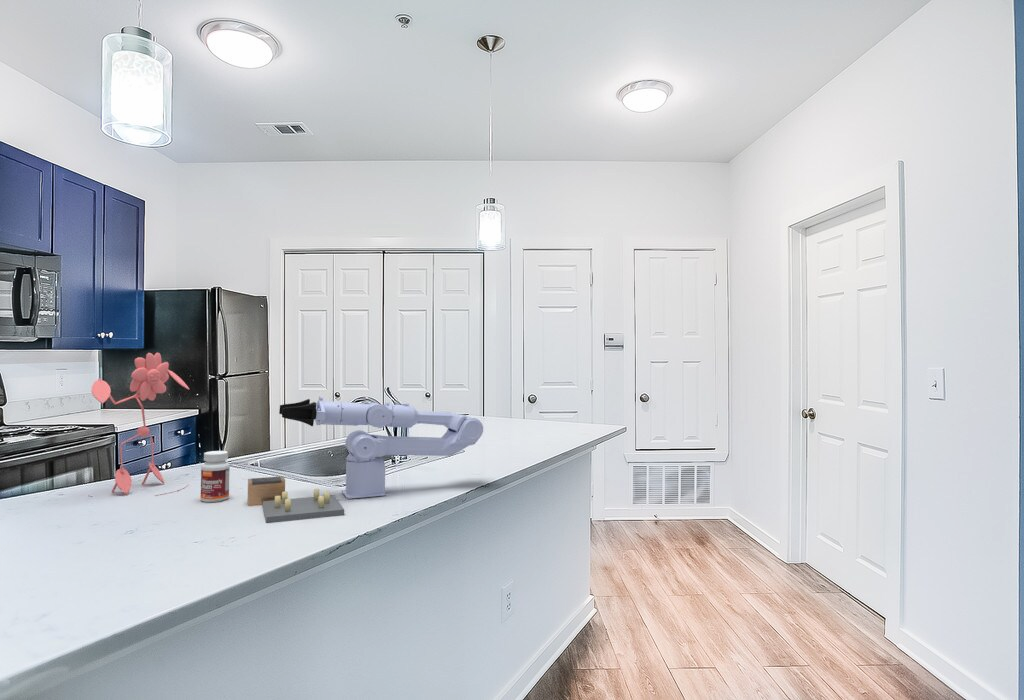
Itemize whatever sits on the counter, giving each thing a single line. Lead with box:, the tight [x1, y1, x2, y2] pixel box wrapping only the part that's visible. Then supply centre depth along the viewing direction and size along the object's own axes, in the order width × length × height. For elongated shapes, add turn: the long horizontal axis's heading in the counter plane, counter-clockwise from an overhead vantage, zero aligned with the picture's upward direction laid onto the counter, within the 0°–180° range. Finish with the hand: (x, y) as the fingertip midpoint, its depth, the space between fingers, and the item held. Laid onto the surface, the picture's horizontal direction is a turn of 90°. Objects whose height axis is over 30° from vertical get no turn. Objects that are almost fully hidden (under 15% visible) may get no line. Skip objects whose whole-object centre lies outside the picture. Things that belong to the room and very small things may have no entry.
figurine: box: [88, 352, 190, 498], centre depth 152 cm, size 15×26×35 cm, turn 167°
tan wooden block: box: [246, 475, 286, 507], centre depth 142 cm, size 8×5×6 cm, turn 116°
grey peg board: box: [262, 488, 345, 524], centre depth 135 cm, size 16×14×4 cm
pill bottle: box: [200, 450, 231, 503], centre depth 144 cm, size 6×6×11 cm
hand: (280, 411), depth 143 cm, fingers open, 7 cm apart
